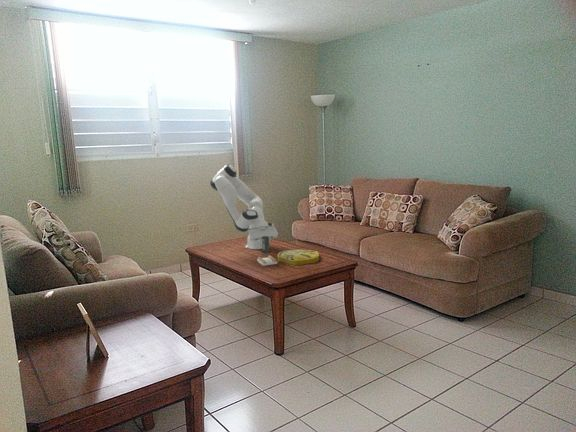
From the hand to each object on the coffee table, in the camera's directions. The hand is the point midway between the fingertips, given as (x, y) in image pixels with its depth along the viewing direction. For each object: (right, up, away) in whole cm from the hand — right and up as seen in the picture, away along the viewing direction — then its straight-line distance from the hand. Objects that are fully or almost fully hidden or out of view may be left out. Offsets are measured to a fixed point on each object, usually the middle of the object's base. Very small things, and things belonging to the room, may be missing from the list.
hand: (265, 244), depth 298 cm
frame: (0, -6, +2) cm, 6 cm away
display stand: (+1, -13, +3) cm, 13 cm away
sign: (+22, -11, +10) cm, 27 cm away
